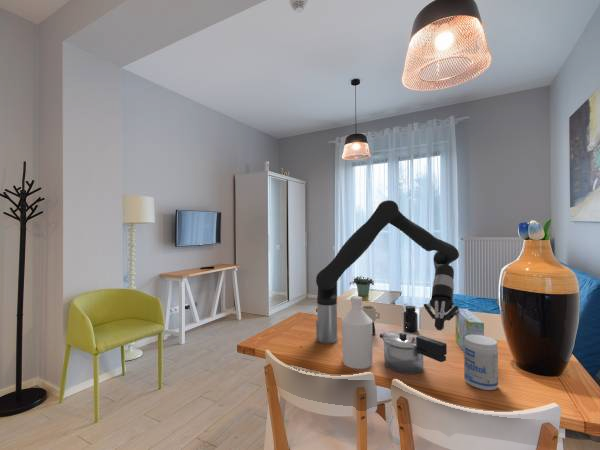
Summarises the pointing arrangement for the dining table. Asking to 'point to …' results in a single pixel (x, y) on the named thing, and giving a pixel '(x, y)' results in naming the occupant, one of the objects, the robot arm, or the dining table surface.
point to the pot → (407, 358)
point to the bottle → (357, 337)
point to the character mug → (371, 314)
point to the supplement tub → (481, 362)
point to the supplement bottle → (410, 319)
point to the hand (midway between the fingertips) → (438, 329)
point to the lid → (415, 342)
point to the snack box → (467, 326)
